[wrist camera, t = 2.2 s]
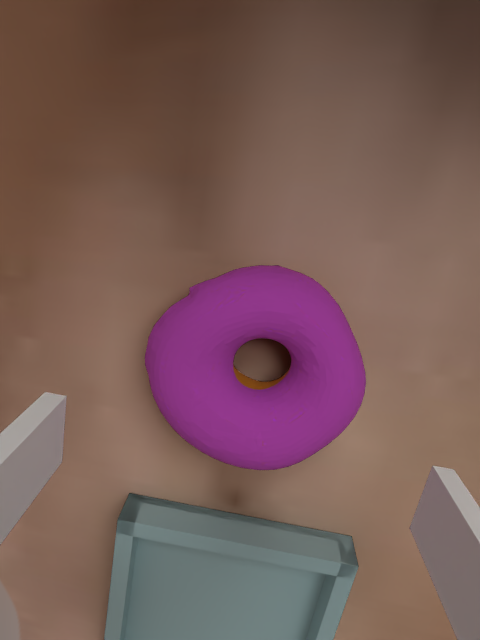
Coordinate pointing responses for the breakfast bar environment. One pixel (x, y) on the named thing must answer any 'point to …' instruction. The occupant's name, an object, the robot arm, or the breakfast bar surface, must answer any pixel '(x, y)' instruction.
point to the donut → (243, 392)
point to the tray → (223, 576)
